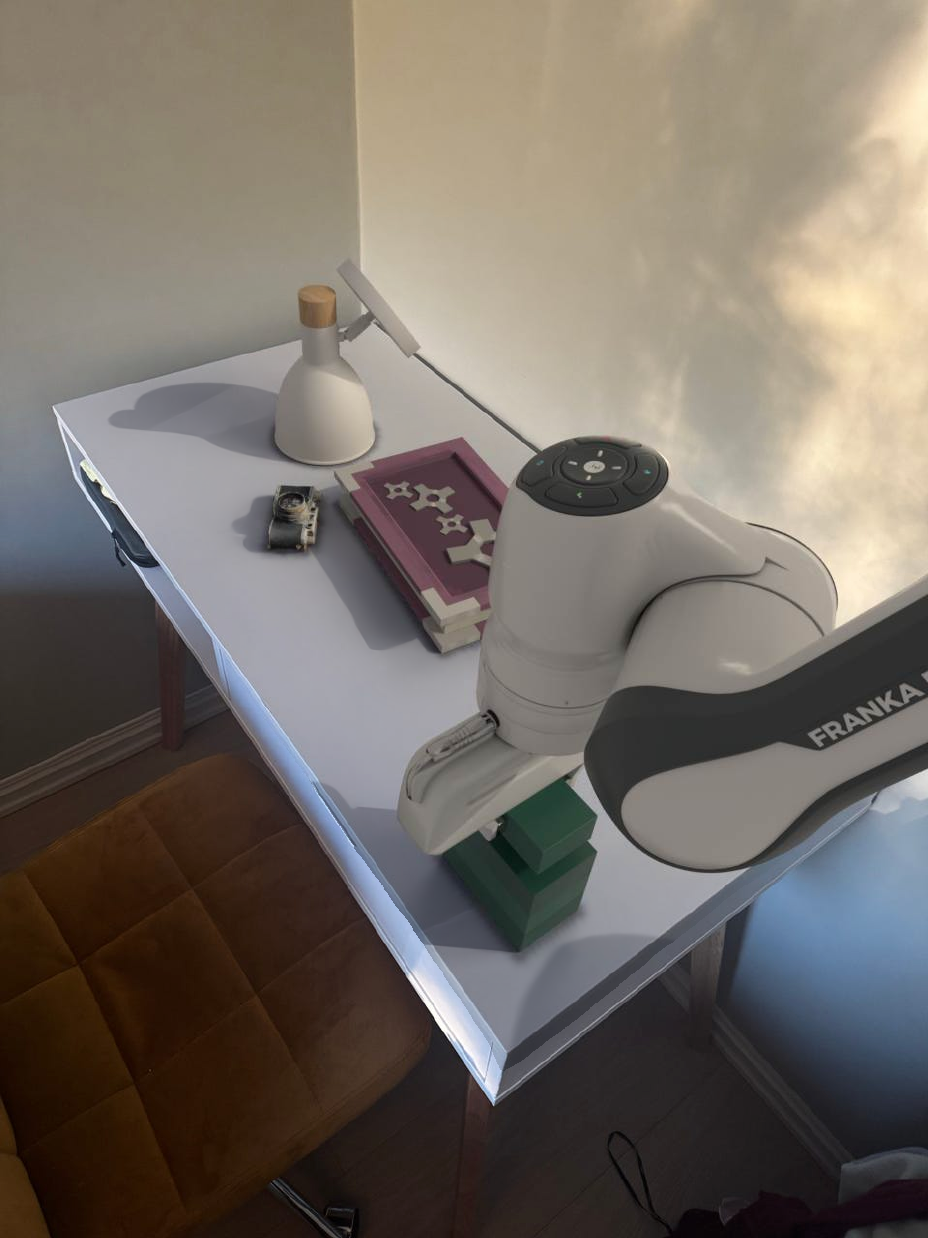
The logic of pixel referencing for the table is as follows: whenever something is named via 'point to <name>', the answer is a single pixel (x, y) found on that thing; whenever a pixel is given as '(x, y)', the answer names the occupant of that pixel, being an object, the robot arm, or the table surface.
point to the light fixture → (332, 377)
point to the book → (431, 531)
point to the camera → (294, 517)
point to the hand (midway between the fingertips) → (525, 806)
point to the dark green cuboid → (549, 825)
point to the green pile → (521, 885)
